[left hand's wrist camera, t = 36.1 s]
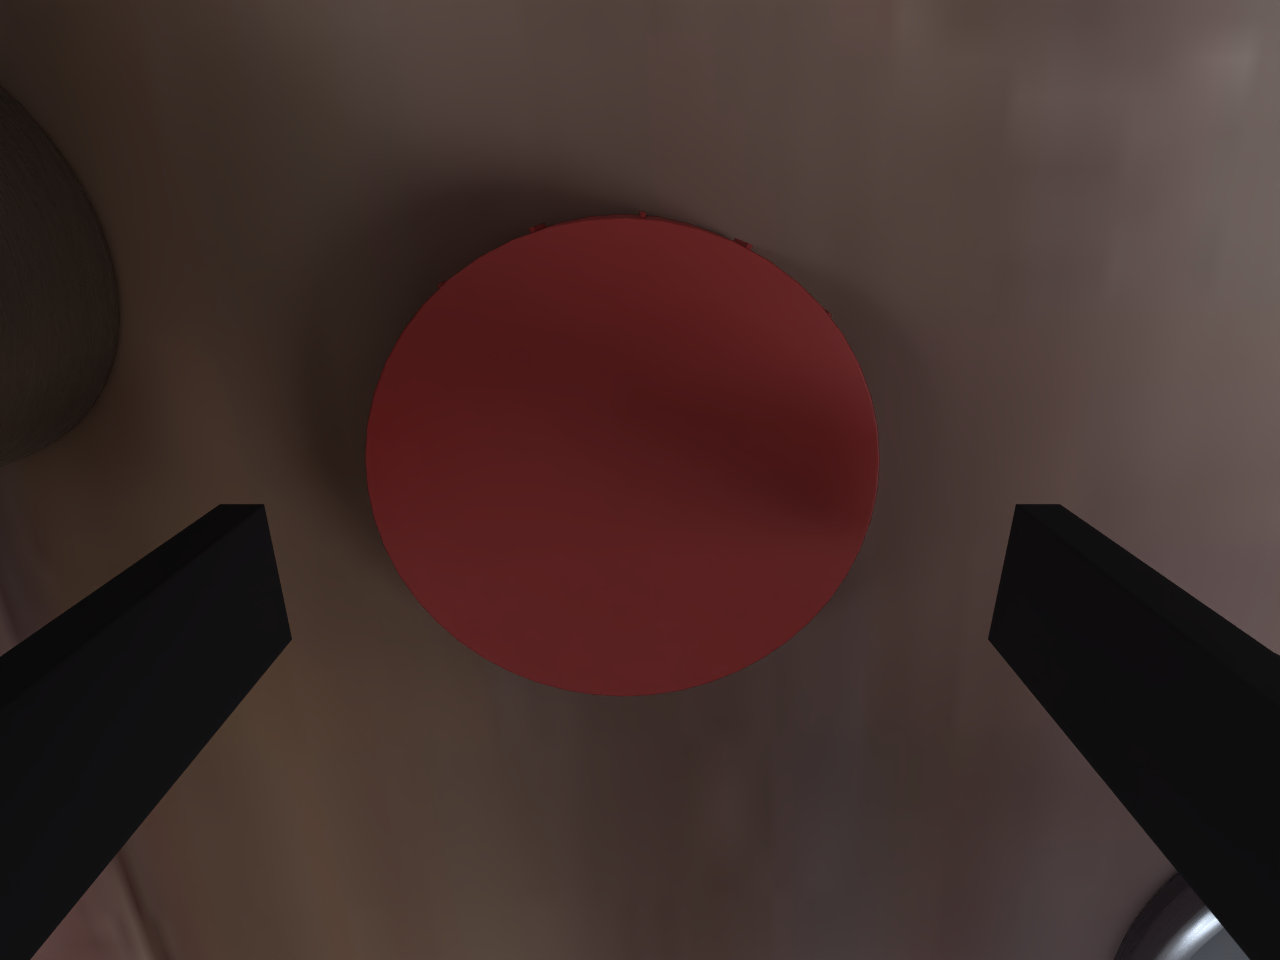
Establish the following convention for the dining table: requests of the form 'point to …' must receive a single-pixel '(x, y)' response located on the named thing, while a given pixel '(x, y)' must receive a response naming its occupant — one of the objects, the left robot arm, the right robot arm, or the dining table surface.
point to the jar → (48, 291)
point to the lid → (622, 456)
